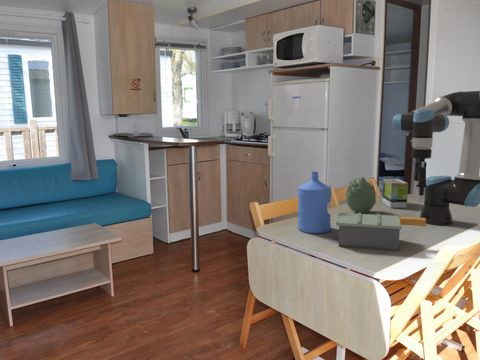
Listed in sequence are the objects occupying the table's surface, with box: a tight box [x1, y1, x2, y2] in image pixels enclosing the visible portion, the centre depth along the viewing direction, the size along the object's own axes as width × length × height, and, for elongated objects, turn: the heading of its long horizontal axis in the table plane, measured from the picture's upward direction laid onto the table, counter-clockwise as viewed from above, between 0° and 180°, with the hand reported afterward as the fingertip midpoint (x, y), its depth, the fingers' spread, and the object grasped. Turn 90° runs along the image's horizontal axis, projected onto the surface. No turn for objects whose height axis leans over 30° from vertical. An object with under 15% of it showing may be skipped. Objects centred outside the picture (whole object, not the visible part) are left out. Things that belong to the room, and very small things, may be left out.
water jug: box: [297, 171, 332, 234], centre depth 204 cm, size 16×16×28 cm
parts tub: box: [338, 226, 401, 252], centre depth 185 cm, size 24×16×9 cm, turn 74°
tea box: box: [381, 178, 409, 209], centre depth 251 cm, size 15×10×15 cm
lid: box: [336, 212, 427, 230], centre depth 183 cm, size 36×17×3 cm, turn 74°
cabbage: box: [345, 176, 377, 214], centre depth 234 cm, size 16×19×20 cm
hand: (418, 199), depth 177 cm, fingers open, 13 cm apart
